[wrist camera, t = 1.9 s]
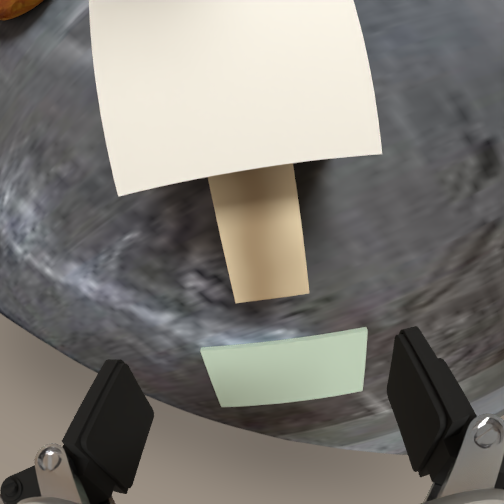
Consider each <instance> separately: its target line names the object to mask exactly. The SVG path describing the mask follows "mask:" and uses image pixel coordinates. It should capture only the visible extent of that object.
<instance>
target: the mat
mask: <svg viewBox="0 0 504 504" xmlns="http://www.w3.org/2000/svg"><path fill="white" fill-rule="evenodd" d="M366 346H367V328H366V327H363V328H357V329H352V330H346V331H340V332H334V333H328V334H321V335H315V336H308V337H300V338H293V339H285V340H277V341H269V342H260V343H250V344H240V345H228V346H216V347H202V348H201V350H200V352H201V354H202V357H203V360H204V363H205V366H206V368H207V371H208V374H209V376H210V379H211V382H212V384H213V387H214V390H215V392H216V395H217V398H218V400H219V403H220V405H221V407H238V406H254V405H267V404H278V403H287V402H296V401H304V400H311V399H318V398H325V397H331V396H337V395H343V394H348V393H354V392H359V391H362V390H363V381H364V371H365V360H366Z"/></svg>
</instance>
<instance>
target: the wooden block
mask: <svg viewBox="0 0 504 504" xmlns="http://www.w3.org/2000/svg"><path fill="white" fill-rule="evenodd" d="M208 181H209V186H210V191H211V195H212V200H213V205H214V209H215V214H216V219H217V223H218V228H219V232H220V237H221V241H222V246H223V250H224V255H225V259H226V263H227V268H228V272H229V277H230V281H231V285H232V289H233V294H234V298H235V302H236V303H242V302H250V301H258V300H265V299H273V298H280V297H287V296H294V295H301V294H308V293H309V286H308V276H307V267H306V258H305V249H304V241H303V233H302V225H301V217H300V209H299V202H298V195H297V188H296V181H295V174H294V167H293V163H290V164H283V165H276V166H269V167H262V168H256V169H250V170H243V171H237V172H232V173H226V174H220V175H215V176H209V177H208Z"/></svg>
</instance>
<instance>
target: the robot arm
mask: <svg viewBox="0 0 504 504" xmlns="http://www.w3.org/2000/svg"><path fill="white" fill-rule="evenodd" d="M387 395H388V398H389V401H390V404H391V407H392V409H393V412H394V415H395V418H396V421H397V423H398V426H399V429H400V432H401V435H402V438H403V441H404V444H405V447H406V450H407V453H408V456H409V459H410V462H411V465H412V468H413V470H414V471H415V472H416V471H418V472H419V475H420V477H422V476H426V475H428V474H430V477H431V480H432V482H433V484H432V486H431V488H430V490H429V492H428V494H427V496H426V498H425V500H424V502H423V503H421V504H504V420H503V419H501V418H500V417H499V416H496V415H494V414H483V415H480V416H478V417H477V416H476V414H475V412H474V410H473V409H472V407H471V405H470V403H469V401H468V400H467V398H466V396H465V394H464V392H463V391H462V389H461V387H460V386H459V384H458V382H457V380H456V379H455V377H454V375H453V374H452V372H451V370H450V369H449V367H448V365H447V364H446V362H445V361H444V360H443V359H441V358H437V357H436V355H435V353H434V352H433V350H432V348H431V347H430V345H429V344H428V342H427V340H426V339H425V337H424V336H423V334H422V333H421V331H420V330H419V328H418V327H416V326H415V327H411V328H407V329H403V330H401V331H400V333H399V335H396V336H395V341H394V349H393V355H392V362H391V368H390V374H389V380H388V385H387ZM153 418H154V412H153V409H152V407H151V406H150V404H149V402H148V401H147V399H146V397H145V395H144V394H143V392H142V390H141V388H140V386H139V385H138V383H137V381H136V379H135V377H134V375H133V374H132V372H131V370H130V368H129V366H128V365H127V364H125V363H124V362H123V361H122V360H109V359H108V360H106V361H105V363H104V364H103V366H102V368H101V370H100V371H99V373H98V375H97V377H96V379H95V380H94V382H93V384H92V386H91V387H90V389H89V391H88V393H87V395H86V397H85V398H84V400H83V402H82V404H81V406H80V407H79V409H78V411H77V413H76V415H75V417H74V419H73V421H72V422H71V424H70V427H69V428H68V430H67V433H66V434H65V436H64V438H63V440H62V442H63V443H64V445H63V447H61V446H60V445H58V444H53V443H51V444H47V445H45V446H43V447H42V448H41V449H40V450H39V451H38V452H37V454H36V457H35V465H34V466H32V467H30V468H28V469H26V470H23V471H21V472H19V473H17V474H14V475H12V476H10V477H8V478H6V479H5V481H4V482H3V484H2V486H1V494H0V504H115V502H114V500H113V498H112V492H113V491H115V492H119V493H124V494H127V491H128V488H131V486H132V484H133V481H134V478H135V475H136V471H137V468H138V465H139V461H140V459H141V455H142V452H143V449H144V446H145V443H146V440H147V436H148V433H149V430H150V427H151V424H152V421H153Z"/></svg>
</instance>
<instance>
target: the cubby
mask: <svg viewBox="0 0 504 504" xmlns="http://www.w3.org/2000/svg"><path fill="white" fill-rule="evenodd" d="M89 13H90V30H91V43H92V53H93V63H94V71H95V79H96V87H97V94H98V100H99V106H100V113H101V118H102V124H103V129H104V135H105V140H106V145H107V150H108V154H109V159H110V164H111V168H112V172H113V177H114V181H115V185H116V189H117V193H118V197H119V196H123V195H127V194H131V193H135V192H139V191H143V190H147V189H152V188H156V187H161V186H165V185H170V184H175V183H179V182H184V181H189V180H194V179H199V178H204V177H209V176H215V175H220V174H226V173H232V172H237V171H243V170H250V169H256V168H262V167H269V166H276V165H283V164H290V163H298V162H305V161H314V160H322V159H331V158H341V157H351V156H363V155H375V154H382V148H381V139H380V130H379V122H378V115H377V108H376V101H375V95H374V89H373V83H372V78H371V72H370V67H369V62H368V57H367V53H366V48H365V44H364V39H363V35H362V31H361V27H360V23H359V19H358V16H357V12H356V8H355V5H354V1H353V0H89Z"/></svg>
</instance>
